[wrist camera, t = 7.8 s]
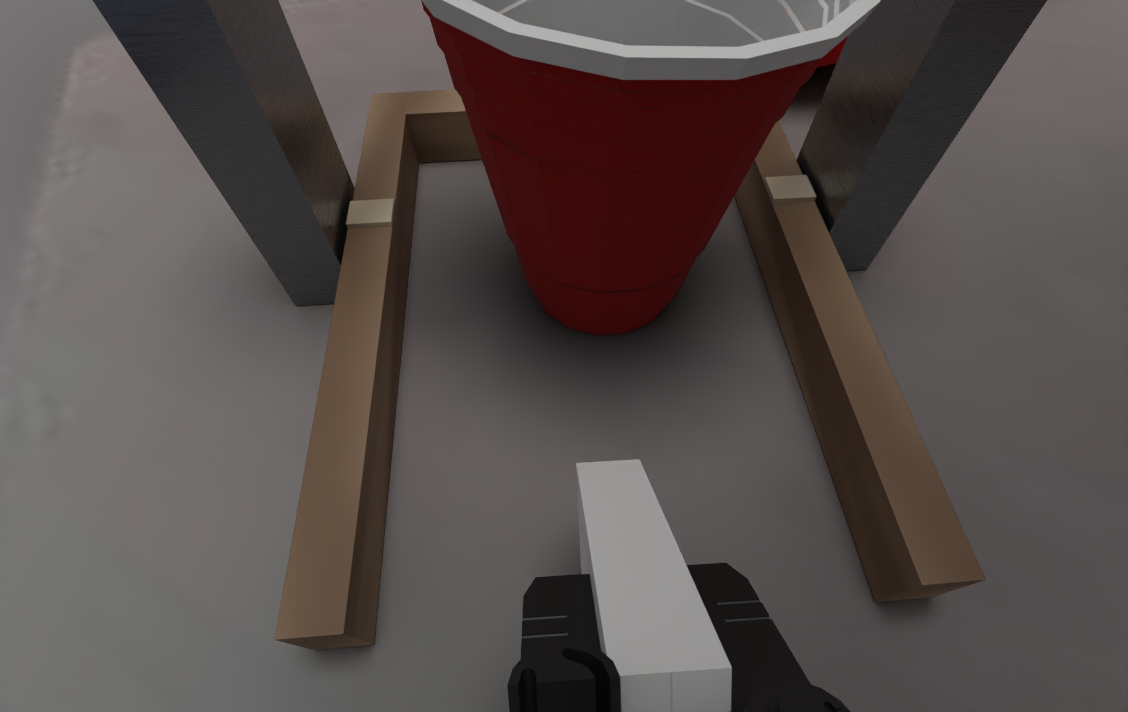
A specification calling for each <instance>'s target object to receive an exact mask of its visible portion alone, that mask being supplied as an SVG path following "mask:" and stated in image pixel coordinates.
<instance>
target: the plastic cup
mask: <svg viewBox="0 0 1128 712" xmlns="http://www.w3.org/2000/svg"><path fill="white" fill-rule="evenodd" d="M421 2H422V5H423V9H424V11H425V12H426V13H427V15H428V16H429V17H430V20H431V24H432V27H433V31H434V34H435V37H436V41H437V44H438V46H439V47H440V48H441V50H442V51H443V52H444V55H445V58H446V61H447V65H448V68H449V71H450V75H451V78H452V81H453V85H454V88H455V90H456V91H457V92H458V94H459V95H460V96H461V99H462V102H463V104H464V107H465V110H466V113H467V116H468V119H469V122H470V125H471V128H472V131H473V134H474V137H475V140H476V143H477V146H478V149H479V152H480V155H481V158H482V160H483V163H484V166H485V169H486V172H487V175H488V178H489V181H490V184H491V187H492V190H493V193H494V196H495V199H496V202H497V205H498V208H499V211H500V214H501V217H502V219H503V222H504V225H505V228H506V231H507V234H508V236H509V238H510V239H511V241H512V242H513V244H514V246H515V249H516V252H517V255H518V258H519V260H520V263H521V266H522V269H523V272H524V275H525V278H526V281H527V284H528V285H529V287H530V288H531V290H532V291H533V293H534V295H535V296H536V298H537V299H538V301H539V303H540V304H541V306H542V307H543V309H544V310H545V312H546V313H547V314H548V315H550V316H551V317H553V318H554V319H556V320H557V321H559V322H560V323H562V324H563V325H565V326H566V327H568V328H570V329H574V330H578V331H582V332H586V333H590V334H594V335H607V334H620V333H628V332H630V331H632V330H635V329H637V328H639V327H641V326H643V325H646V324H648V323H650V322H652V321H653V320H654V319H655V318H656V317H657V316H658V315H659V314H660V313H661V312H662V310H663V309H664V308H665V307H666V306H667V305H668V304H669V302H670V301H671V300H672V299H673V298H674V297H675V296H676V295H677V293H678V291H679V289H680V287H681V286H682V284H683V282H684V280H685V278H686V276H687V274H688V272H689V270H690V269H691V267H692V265H693V263H694V261H695V259H696V258H697V256H698V255H699V254H700V253H701V252H702V251H703V250H704V249H705V247H706V245H707V243H708V242H709V240H710V238H711V236H712V234H713V233H714V231H715V229H716V227H717V226H718V224H719V222H720V220H721V219H722V217H723V215H724V213H725V211H726V210H727V208H728V206H729V204H730V203H731V201H732V199H733V197H734V195H735V194H736V192H737V190H738V188H739V187H740V185H741V183H742V181H743V180H744V178H745V176H746V174H747V172H748V171H749V169H750V167H751V165H752V164H753V162H754V160H755V158H756V157H757V155H758V153H759V151H760V149H761V148H762V146H763V144H764V142H765V141H766V139H767V137H768V135H769V134H770V132H771V130H772V128H773V126H774V125H775V123H776V122H778V121H779V120H780V119H781V118H782V117H783V116H784V114H785V113H786V111H787V109H788V107H789V106H790V104H791V102H792V101H793V99H794V97H795V96H796V94H797V92H798V90H799V89H800V87H801V86H802V85H803V84H805V83H806V82H807V81H808V80H809V79H810V78H811V76H812V74H813V73H814V71H815V69H816V68H817V66H818V64H819V63H820V61H821V59H822V58H823V57H824V56H825V55H826V54H827V53H828V52H829V51H831V50H832V49H833V48H834V47H835V46H836V45H837V44H839V43H840V42H841V41H842V40H843V39H844V38H846V37H847V36H848V35H849V34H850V33H852V32H853V31H854V30H855V29H856V28H857V27H859V26H860V25H861V24H862V23H863V22H864V21H865V20H866V19H867V18H868V16H869V15H870V14H871V12H872V11H873V10H874V9H875V7H876V6H877V5H878V4H879V2H880V0H421Z"/></svg>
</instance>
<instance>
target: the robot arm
mask: <svg viewBox="0 0 1128 712" xmlns="http://www.w3.org/2000/svg"><path fill="white" fill-rule="evenodd" d="M576 470H577V493H578V515H579V538H580V560H581V573H582V574H579V575H564V576H549V577H536V578H535V579H534V581H533V582H532V584H531V585H530V587H529V588H528V590H527V592H526V593H525V595H524V599H523V622H522V644H521V660H520V661H519V662H518V663H517V664H516V666H515V667H514V668H513V670H512V673H511V676H510V679H509V682H508V696H509V709H510V712H850V711H849V710H848V709H847V708H846V707H845V705H844V704H843V703H842V702H841V701H840V700H838V699H837V698H835V697H834V696H832V695H831V694H829V693H828V692H826V691H824V690H823V689H821V688H819V687H816V686H813V685H811V684H810V682H809V681H808V679H807V677H806V676H805V674H804V672H803V671H802V669H801V667H800V666H799V664H798V662H797V661H796V659H795V657H794V656H793V654H792V652H791V651H790V649H789V647H788V646H787V644H786V642H785V641H784V639H783V637H782V636H781V634H780V632H779V631H778V629H777V627H776V626H775V624H774V622H773V621H772V619H771V620H770V618H769V614H768V613H767V611H766V609H765V608H764V606H763V604H762V603H761V602H759V598H758V596H757V594H756V593H755V591H754V589H753V588H752V586H751V584H750V583H749V581H748V579H747V578H746V577H744V576H743V575H742V574H740V573H739V572H738V571H736V570H735V569H734V568H732V567H731V566H730V565H728V564H727V563H714V564H699V565H686V563H685V561H684V559H683V556H682V554H681V552H680V550H679V547H678V545H677V543H676V541H675V538H674V536H673V534H672V532H671V529H670V527H669V525H668V523H667V520H666V518H665V516H664V514H663V511H662V509H661V507H660V505H659V502H658V500H657V498H656V496H655V493H654V491H653V489H652V487H651V484H650V482H649V480H648V478H647V475H646V473H645V471H644V468H643V466H642V464H641V462H640V459H635V460H618V461H602V462H585V463H576Z"/></svg>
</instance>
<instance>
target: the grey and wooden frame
mask: <svg viewBox="0 0 1128 712" xmlns="http://www.w3.org/2000/svg"><path fill="white" fill-rule="evenodd" d="M1046 1H1047V0H880V2H879V4H878V5H877V6H876V7H875V9H874V10H873V11H872V12H871V14H870V15H869V16H868V18H867V19H866V20H865V21H864V22H863V23H862V24H861V25H860V26H859V27H857V28H856V29H855V30H854V31H853V32H852V33H850V34H849V35H848V37H847V39H846V42H845V44H844V47H843V49H842V52H841V54H840V56H839V59H838V61H837V64H836V66H835V69H834V71H833V73H832V76H831V78H830V81H829V83H828V86H827V88H826V90H825V93H824V95H823V98H822V100H821V103H820V105H819V107H818V110H817V112H816V115H815V117H814V119H813V122H812V124H811V127H810V129H809V132H808V134H807V136H806V139H805V141H804V144H803V146H802V149H801V151H800V153H799V156H798V158H797V161H796V159H795V157H794V154H793V152H792V150H791V148H790V146H789V143H788V141H787V139H786V137H785V135H784V132H783V130H782V128H781V126H780V123H779V121H778V122H776V123H775V125H774V126H773V128H772V130H771V132H770V134H769V135H768V137H767V139H766V141H765V142H764V144H763V146H762V148H761V149H760V151H759V153H758V155H757V157H756V158H755V160H754V162H753V164H752V165H751V167H750V169H749V171H748V172H747V174H746V176H745V178H744V180H743V181H742V183H741V185H740V187H739V188H738V190H737V192H736V194H735V198H736V201H737V204H738V207H739V209H740V212H741V215H742V218H743V221H744V224H745V227H746V230H747V233H748V235H749V238H750V241H751V244H752V247H753V250H754V253H755V256H756V259H757V262H758V264H759V267H760V270H761V273H762V276H763V279H764V282H765V285H766V288H767V290H768V293H769V296H770V299H771V302H772V305H773V308H774V311H775V314H776V317H777V319H778V322H779V325H780V328H781V331H782V334H783V337H784V340H785V343H786V345H787V348H788V351H789V354H790V357H791V360H792V363H793V366H794V369H795V372H796V374H797V377H798V380H799V383H800V386H801V389H802V392H803V395H804V398H805V400H806V403H807V406H808V409H809V412H810V415H811V418H812V421H813V424H814V427H815V429H816V432H817V435H818V438H819V441H820V444H821V447H822V450H823V453H824V455H825V458H826V461H827V464H828V467H829V470H830V473H831V476H832V479H833V482H834V484H835V487H836V490H837V493H838V496H839V499H840V502H841V505H842V508H843V510H844V513H845V516H846V519H847V522H848V525H849V528H850V531H851V534H852V537H853V539H854V542H855V545H856V548H857V551H858V554H859V557H860V560H861V563H862V565H863V568H864V571H865V574H866V577H867V580H868V583H869V586H870V589H871V592H872V594H873V597H874V600H875V602H883V601H895V600H907V599H918V598H930V597H933V596H937V595H940V594H943V593H946V592H949V591H952V590H955V589H958V588H961V587H964V586H968V585H971V584H974V583H977V582H980V581H983V580H986V579H985V577H984V575H983V573H982V570H981V568H980V566H979V564H978V562H977V559H976V557H975V555H974V553H973V551H972V548H971V546H970V544H969V542H968V540H967V537H966V535H965V533H964V531H963V528H962V526H961V524H960V522H959V520H958V517H957V515H956V513H955V511H954V509H953V506H952V504H951V502H950V500H949V497H948V495H947V493H946V491H945V489H944V486H943V484H942V482H941V480H940V478H939V475H938V473H937V471H936V469H935V466H934V464H933V462H932V460H931V458H930V455H929V453H928V451H927V449H926V447H925V444H924V442H923V440H922V438H921V435H920V433H919V431H918V429H917V427H916V424H915V422H914V420H913V418H912V416H911V413H910V411H909V409H908V407H907V405H906V402H905V400H904V398H903V396H902V393H901V391H900V389H899V387H898V385H897V382H896V380H895V378H894V376H893V374H892V371H891V369H890V367H889V365H888V362H887V360H886V358H885V356H884V354H883V351H882V349H881V347H880V345H879V343H878V340H877V338H876V336H875V334H874V331H873V329H872V327H871V325H870V323H869V320H868V318H867V316H866V314H865V312H864V309H863V307H862V305H861V303H860V300H859V298H858V296H857V294H856V292H855V289H854V287H853V285H852V283H851V281H850V278H849V276H848V274H847V272H846V271H852V270H866V269H867V268H868V266H869V265H870V263H871V262H872V260H873V259H874V257H875V256H876V254H877V253H878V252H879V250H880V249H881V247H882V246H883V244H884V243H885V241H886V240H887V238H888V237H889V235H890V234H891V232H892V231H893V229H894V228H895V226H896V225H897V223H898V222H899V220H900V219H901V217H902V216H903V214H904V213H905V211H906V210H907V208H908V207H909V205H910V204H911V202H912V201H913V199H914V198H915V196H916V195H917V193H918V192H919V190H920V189H921V187H922V186H923V184H924V183H925V181H926V180H927V178H928V177H929V175H930V174H931V172H932V171H933V170H934V168H935V167H936V165H937V164H938V162H939V161H940V159H941V158H942V156H943V155H944V153H945V152H946V150H947V149H948V147H949V146H950V144H951V143H952V141H953V140H954V138H955V137H956V135H957V134H958V132H959V131H960V129H961V128H962V126H963V125H964V123H965V122H966V120H967V119H968V117H969V116H970V114H971V113H972V111H973V110H974V108H975V107H976V105H977V104H978V102H979V101H980V99H981V98H982V96H983V95H984V93H985V92H986V90H987V89H988V87H989V86H990V85H991V83H992V82H993V80H994V79H995V77H996V76H997V74H998V73H999V71H1000V70H1001V68H1002V67H1003V65H1004V64H1005V62H1006V61H1007V59H1008V58H1009V56H1010V55H1011V53H1012V52H1013V50H1014V49H1015V47H1016V46H1017V44H1018V43H1019V41H1020V40H1021V38H1022V37H1023V35H1024V34H1025V32H1026V31H1027V29H1028V28H1029V26H1030V25H1031V23H1032V22H1033V20H1034V19H1035V17H1036V16H1037V14H1038V13H1039V11H1040V10H1041V8H1042V7H1043V5H1044V4H1045V2H1046ZM93 2H94V3H95V5H96V6H97V8H98V9H99V11H100V12H101V14H102V15H103V17H104V18H105V20H106V21H107V22H108V24H109V26H110V27H111V29H112V30H113V32H114V33H115V35H116V36H117V38H118V39H119V41H120V42H121V44H122V45H123V47H124V48H125V50H126V51H127V53H128V54H129V56H130V57H131V59H132V60H133V62H134V63H135V65H136V66H137V68H138V69H139V71H140V72H141V74H142V75H143V77H144V78H145V80H146V81H147V83H148V84H149V86H150V87H151V89H152V90H153V92H154V93H155V95H156V96H157V98H158V99H159V101H160V102H161V104H162V105H163V107H164V108H165V110H166V111H167V113H168V114H169V116H170V117H171V119H172V120H173V122H174V123H175V125H176V126H177V128H178V129H179V131H180V132H181V134H182V135H183V137H184V138H185V140H186V141H187V143H188V144H189V146H190V147H191V149H192V150H193V152H194V153H195V155H196V156H197V158H198V159H199V161H200V162H201V164H202V165H203V167H204V168H205V170H206V171H207V173H208V174H209V176H210V177H211V179H212V180H213V182H214V183H215V185H216V186H217V188H218V189H219V191H220V192H221V194H222V195H223V197H224V198H225V200H226V201H227V203H228V204H229V206H230V207H231V209H232V210H233V212H234V213H235V215H236V216H237V218H238V219H239V221H240V222H241V224H242V225H243V227H244V228H245V230H246V231H247V233H248V234H249V236H250V237H251V239H252V240H253V242H254V243H255V245H256V246H257V248H258V249H259V251H260V252H261V254H262V255H263V257H264V258H265V260H266V261H267V263H268V264H269V266H270V267H271V269H272V270H273V272H274V273H275V275H276V276H277V278H278V279H279V281H280V282H281V284H282V285H283V287H284V288H285V290H286V291H287V293H288V294H289V296H290V297H291V299H292V300H293V302H294V303H295V305H296V306H303V305H318V304H334V308H333V314H332V319H331V325H330V331H329V336H328V342H327V347H326V353H325V359H324V364H323V370H322V375H321V381H320V387H319V392H318V398H317V403H316V409H315V415H314V420H313V426H312V432H311V437H310V443H309V448H308V454H307V460H306V465H305V471H304V476H303V482H302V488H301V493H300V499H299V504H298V510H297V516H296V521H295V527H294V532H293V538H292V544H291V549H290V555H289V560H288V566H287V572H286V577H285V583H284V588H283V594H282V600H281V605H280V611H279V616H278V622H277V628H276V633H275V639H274V640H277V641H281V642H285V643H289V644H293V645H297V646H301V647H305V648H309V649H313V650H320V649H332V648H344V647H356V646H367V645H374V640H375V630H376V619H377V608H378V597H379V587H380V576H381V565H382V554H383V543H384V533H385V522H386V511H387V500H388V490H389V479H390V468H391V457H392V447H393V436H394V425H395V414H396V404H397V393H398V382H399V371H400V361H401V350H402V339H403V328H404V318H405V307H406V296H407V285H408V275H409V264H410V253H411V242H412V231H413V221H414V210H415V199H416V188H417V178H418V167H419V163H423V162H441V161H460V160H478V159H482V158H481V155H480V152H479V149H478V146H477V143H476V140H475V137H474V134H473V131H472V128H471V125H470V122H469V119H468V116H467V113H466V110H465V107H464V104H463V102H462V99H461V96H460V95H459V94H458V92H457V91H456V90H438V91H418V92H398V93H379V94H372V95H371V101H370V107H369V112H368V118H367V123H366V129H365V135H364V140H363V146H362V151H361V157H360V163H359V168H358V174H357V179H356V185H355V188H354V186H353V183H352V181H351V178H350V176H349V173H348V171H347V169H346V166H345V164H344V161H343V159H342V156H341V154H340V151H339V149H338V146H337V144H336V141H335V139H334V137H333V134H332V132H331V129H330V127H329V124H328V122H327V119H326V117H325V114H324V112H323V109H322V107H321V105H320V102H319V100H318V97H317V95H316V92H315V90H314V87H313V85H312V82H311V80H310V77H309V75H308V73H307V70H306V68H305V65H304V63H303V60H302V58H301V55H300V53H299V50H298V48H297V45H296V43H295V40H294V38H293V36H292V33H291V31H290V28H289V26H288V23H287V21H286V18H285V16H284V13H283V11H282V8H281V6H280V4H279V1H278V0H93Z"/></svg>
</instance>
